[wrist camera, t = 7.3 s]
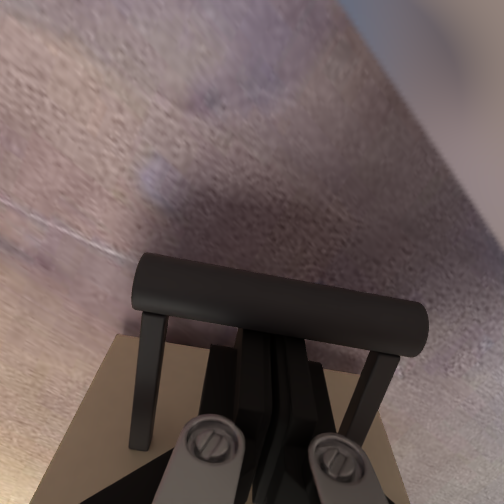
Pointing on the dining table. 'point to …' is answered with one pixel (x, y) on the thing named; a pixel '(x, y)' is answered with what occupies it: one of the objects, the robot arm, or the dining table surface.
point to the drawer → (195, 362)
